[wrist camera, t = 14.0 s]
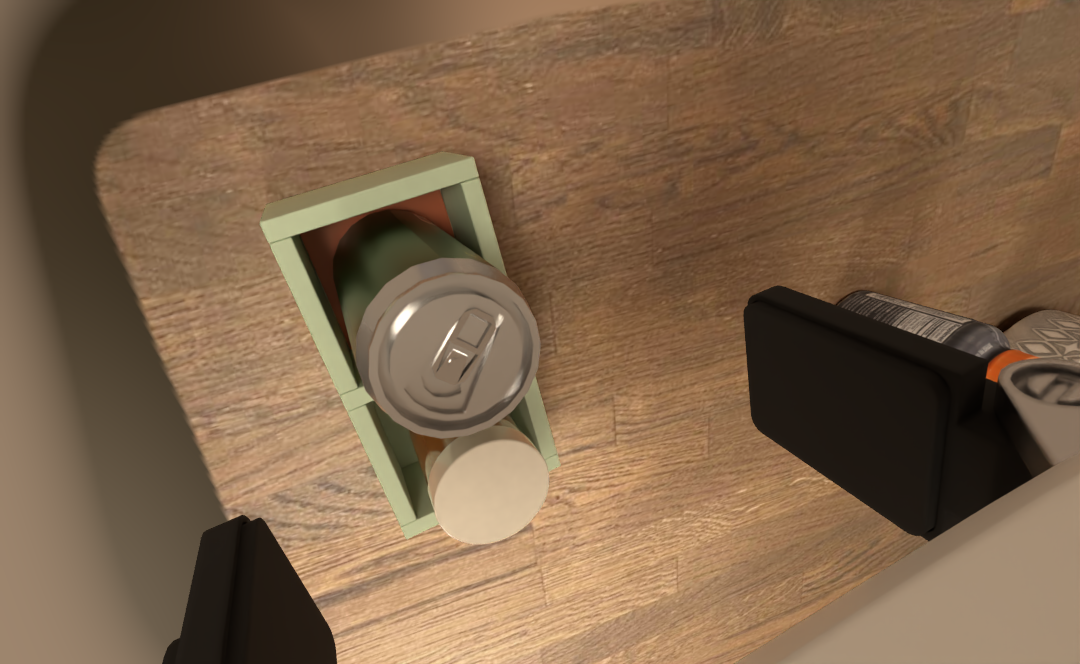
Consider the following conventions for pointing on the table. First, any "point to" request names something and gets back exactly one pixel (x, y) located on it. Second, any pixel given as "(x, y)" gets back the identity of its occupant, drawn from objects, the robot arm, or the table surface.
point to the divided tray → (307, 265)
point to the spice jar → (483, 481)
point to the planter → (1047, 335)
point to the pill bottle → (939, 328)
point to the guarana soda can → (433, 326)
